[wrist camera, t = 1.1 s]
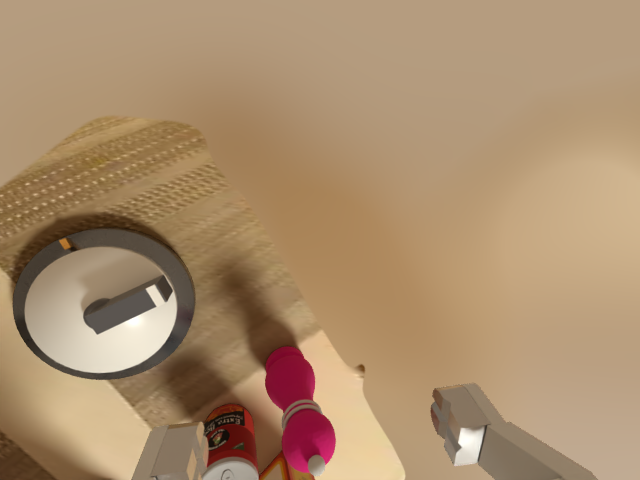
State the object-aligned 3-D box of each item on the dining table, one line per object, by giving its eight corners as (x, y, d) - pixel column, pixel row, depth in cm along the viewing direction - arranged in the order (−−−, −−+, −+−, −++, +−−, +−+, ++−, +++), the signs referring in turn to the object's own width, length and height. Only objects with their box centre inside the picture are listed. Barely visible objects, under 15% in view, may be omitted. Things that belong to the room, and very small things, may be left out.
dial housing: (191, 367, 46) (189, 378, 44) (24, 374, 40) (10, 387, 38) (200, 233, 43) (198, 236, 41) (22, 220, 38) (7, 222, 35)
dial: (81, 388, 40) (58, 419, 35) (1, 282, 36) (-39, 299, 31) (199, 328, 43) (195, 349, 38) (138, 224, 39) (123, 230, 34)
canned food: (243, 394, 49) (247, 450, 39) (260, 434, 51) (267, 498, 40) (194, 415, 47) (184, 480, 37) (213, 456, 49) (208, 529, 39)
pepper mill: (253, 359, 48) (269, 470, 30) (294, 334, 50) (334, 426, 31) (275, 393, 50) (303, 518, 31) (314, 368, 52) (363, 474, 33)
